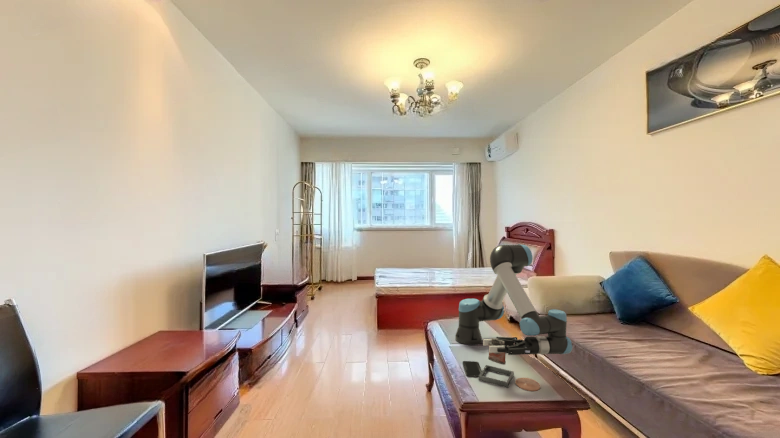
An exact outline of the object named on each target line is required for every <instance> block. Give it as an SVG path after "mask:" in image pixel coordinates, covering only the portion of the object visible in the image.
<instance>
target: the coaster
mask: <svg viewBox="0 0 780 438" xmlns="http://www.w3.org/2000/svg"><path fill="white" fill-rule="evenodd" d="M514 381H515V386H516V387H518V388H519V389H521V390H524V391H527V392H537V391H539V390H541V384H540V383H539V381H538V380H535V379H532V378H529V377H518V378H516V379H515V380H514Z"/></svg>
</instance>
